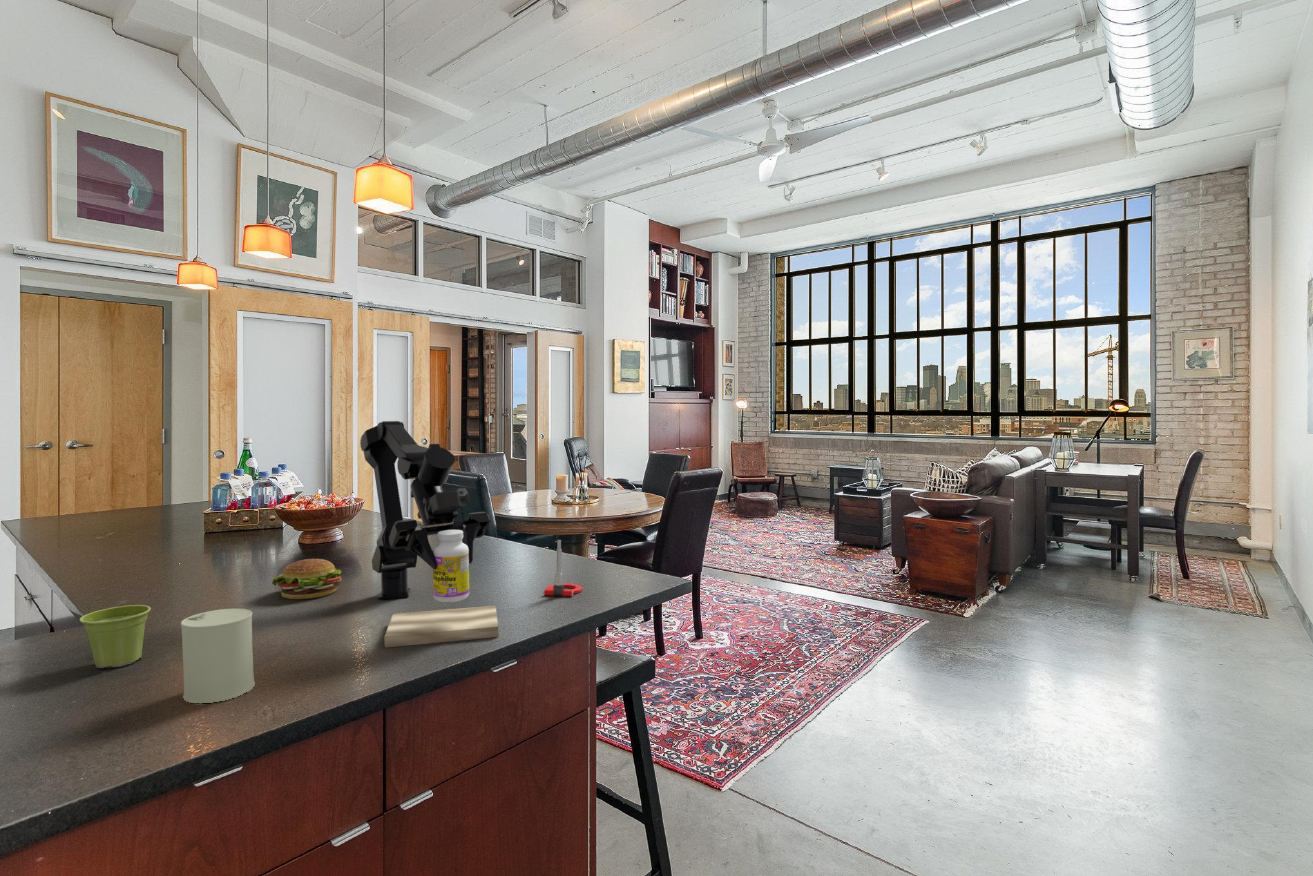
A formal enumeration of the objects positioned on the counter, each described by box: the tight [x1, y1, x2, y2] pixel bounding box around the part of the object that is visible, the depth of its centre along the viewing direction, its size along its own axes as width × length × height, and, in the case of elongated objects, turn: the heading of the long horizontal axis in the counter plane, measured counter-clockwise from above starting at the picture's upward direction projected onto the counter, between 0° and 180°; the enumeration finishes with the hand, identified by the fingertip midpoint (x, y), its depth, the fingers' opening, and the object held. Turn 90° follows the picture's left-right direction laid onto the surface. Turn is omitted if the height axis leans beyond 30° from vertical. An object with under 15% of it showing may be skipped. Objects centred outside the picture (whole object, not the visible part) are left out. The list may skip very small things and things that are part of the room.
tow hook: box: [543, 539, 583, 598], centre depth 157 cm, size 8×13×9 cm
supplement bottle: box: [432, 530, 470, 603], centre depth 128 cm, size 7×7×13 cm
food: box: [271, 558, 343, 600], centre depth 157 cm, size 14×14×8 cm
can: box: [180, 608, 256, 704], centre depth 102 cm, size 9×9×12 cm
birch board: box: [383, 605, 499, 648], centre depth 130 cm, size 14×20×2 cm
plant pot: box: [79, 604, 152, 666], centre depth 114 cm, size 9×9×9 cm
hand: (453, 565), depth 127 cm, fingers closed on supplement bottle, 7 cm apart
